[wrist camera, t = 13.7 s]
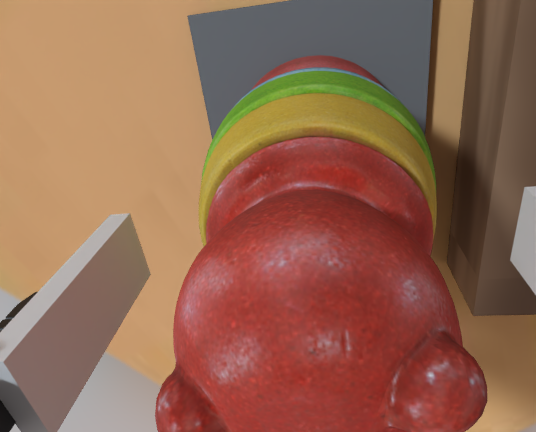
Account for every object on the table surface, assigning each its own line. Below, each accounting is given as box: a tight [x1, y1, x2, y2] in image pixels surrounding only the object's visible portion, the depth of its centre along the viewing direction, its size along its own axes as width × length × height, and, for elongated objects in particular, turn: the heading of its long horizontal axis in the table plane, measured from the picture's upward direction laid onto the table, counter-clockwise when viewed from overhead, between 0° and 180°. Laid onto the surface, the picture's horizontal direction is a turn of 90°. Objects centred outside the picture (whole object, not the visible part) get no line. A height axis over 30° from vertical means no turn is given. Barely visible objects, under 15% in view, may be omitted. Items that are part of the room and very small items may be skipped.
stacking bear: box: [155, 55, 487, 432], centre depth 15 cm, size 11×10×18 cm
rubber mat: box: [188, 0, 433, 140], centre depth 23 cm, size 12×15×1 cm
